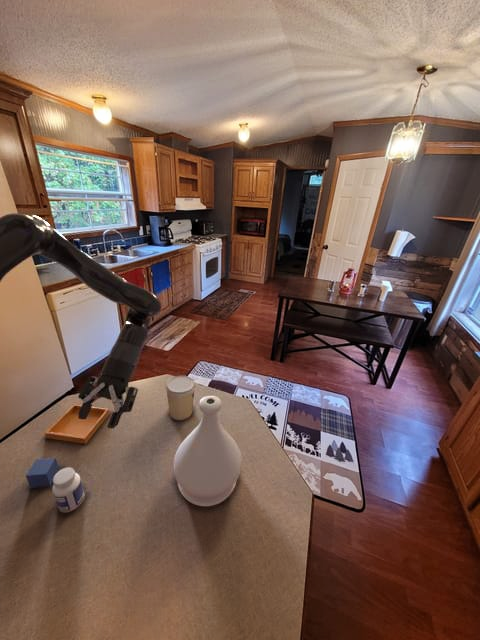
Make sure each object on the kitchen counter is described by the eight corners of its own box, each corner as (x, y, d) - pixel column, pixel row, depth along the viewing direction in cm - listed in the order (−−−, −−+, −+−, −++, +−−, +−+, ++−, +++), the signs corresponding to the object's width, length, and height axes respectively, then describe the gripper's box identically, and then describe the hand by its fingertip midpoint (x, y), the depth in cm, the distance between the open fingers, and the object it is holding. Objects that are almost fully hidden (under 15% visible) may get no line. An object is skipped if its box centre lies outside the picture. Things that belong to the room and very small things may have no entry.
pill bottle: (81, 485, 63) (74, 460, 59) (87, 501, 59) (81, 476, 56) (55, 500, 59) (46, 474, 56) (61, 518, 56) (52, 492, 52)
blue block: (30, 488, 61) (25, 475, 59) (40, 471, 65) (36, 459, 63) (50, 486, 62) (46, 473, 60) (59, 469, 66) (55, 457, 64)
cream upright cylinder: (199, 415, 87) (199, 387, 82) (173, 426, 82) (171, 396, 77) (188, 399, 94) (188, 372, 89) (163, 408, 88) (161, 380, 84)
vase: (205, 437, 78) (207, 370, 69) (252, 470, 70) (262, 398, 60) (159, 480, 65) (154, 404, 55) (210, 527, 56) (214, 447, 46)
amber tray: (46, 438, 74) (44, 433, 73) (75, 408, 85) (74, 404, 84) (85, 443, 73) (84, 438, 72) (109, 413, 84) (109, 408, 84)
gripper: (91, 351, 66) (61, 415, 61) (138, 362, 63) (111, 431, 58) (108, 358, 73) (83, 416, 67) (152, 369, 70) (128, 431, 64)
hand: (96, 423), depth 63 cm, fingers open, 8 cm apart
